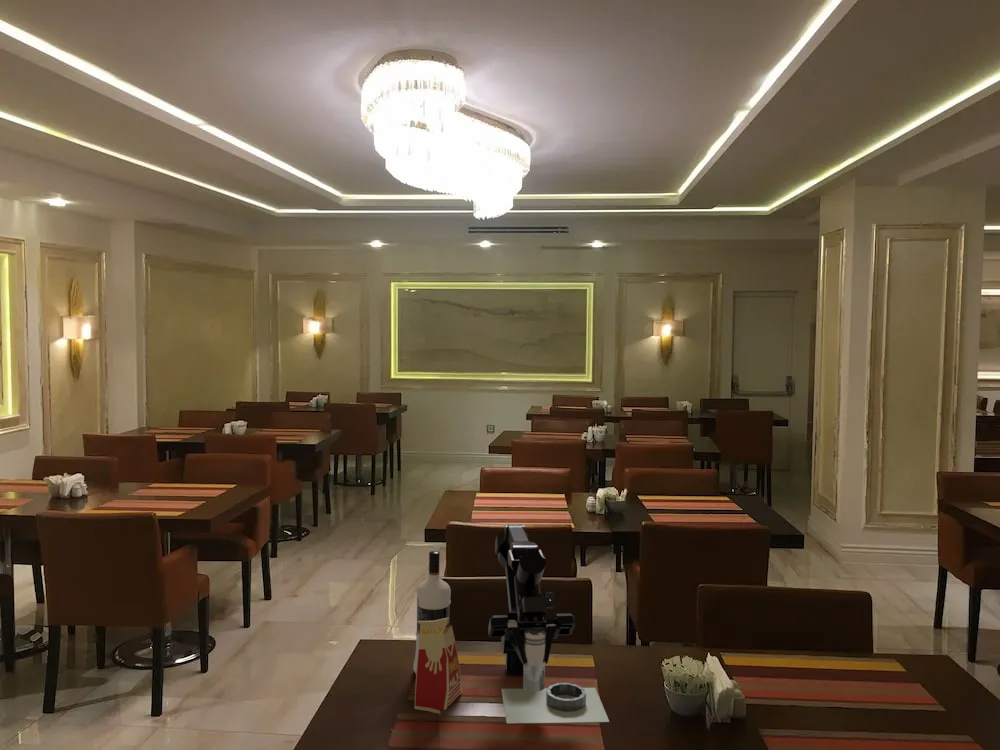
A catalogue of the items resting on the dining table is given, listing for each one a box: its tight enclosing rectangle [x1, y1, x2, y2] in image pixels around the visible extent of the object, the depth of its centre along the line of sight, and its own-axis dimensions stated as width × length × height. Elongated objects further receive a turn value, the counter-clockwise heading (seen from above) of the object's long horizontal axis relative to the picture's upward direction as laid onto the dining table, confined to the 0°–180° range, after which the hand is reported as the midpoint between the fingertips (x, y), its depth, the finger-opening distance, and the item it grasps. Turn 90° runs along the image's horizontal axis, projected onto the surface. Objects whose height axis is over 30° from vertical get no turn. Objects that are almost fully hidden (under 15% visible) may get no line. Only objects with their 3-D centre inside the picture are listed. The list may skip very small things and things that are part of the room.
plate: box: [500, 687, 610, 725], centre depth 179 cm, size 22×16×1 cm
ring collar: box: [546, 682, 586, 712], centre depth 180 cm, size 9×9×2 cm
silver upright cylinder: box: [522, 629, 546, 692], centre depth 174 cm, size 5×5×12 cm
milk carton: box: [414, 616, 463, 715], centre depth 181 cm, size 9×9×20 cm
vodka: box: [412, 550, 452, 674], centre depth 196 cm, size 9×9×30 cm
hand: (535, 663), depth 173 cm, fingers closed on silver upright cylinder, 5 cm apart
